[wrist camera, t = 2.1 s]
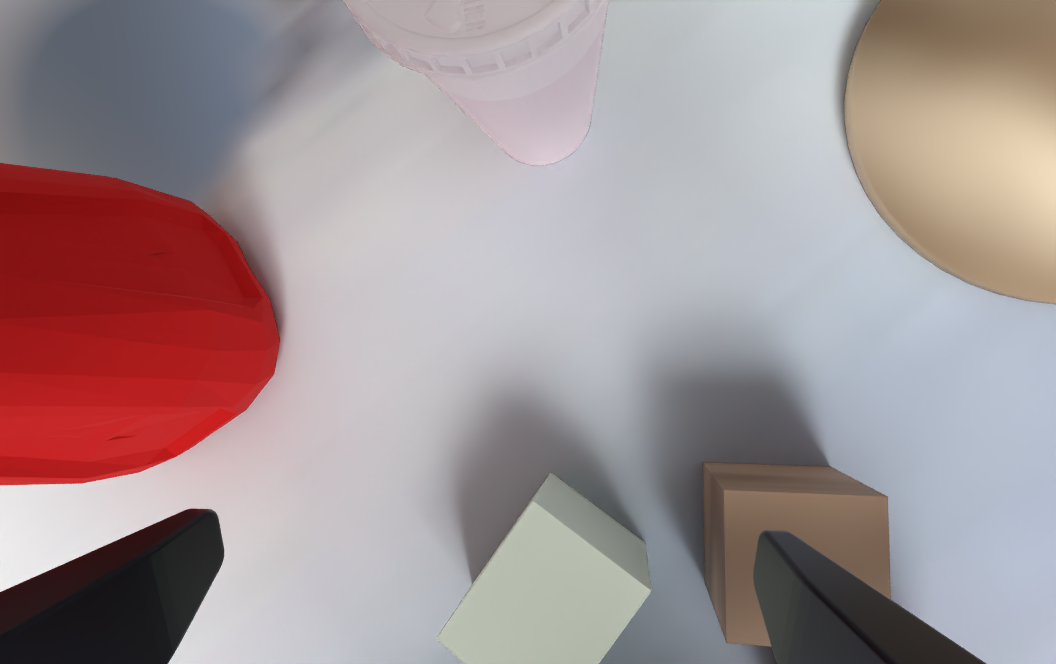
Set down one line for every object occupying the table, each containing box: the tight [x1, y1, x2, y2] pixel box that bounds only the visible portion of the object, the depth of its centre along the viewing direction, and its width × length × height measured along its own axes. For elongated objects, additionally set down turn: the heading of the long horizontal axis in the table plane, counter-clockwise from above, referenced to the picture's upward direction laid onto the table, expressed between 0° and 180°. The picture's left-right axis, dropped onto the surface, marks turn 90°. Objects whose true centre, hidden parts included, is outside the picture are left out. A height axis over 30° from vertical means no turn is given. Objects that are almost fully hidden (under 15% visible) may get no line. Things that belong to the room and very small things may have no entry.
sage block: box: [436, 472, 652, 664], centre depth 17 cm, size 5×4×4 cm
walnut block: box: [703, 462, 891, 647], centre depth 16 cm, size 4×4×4 cm
